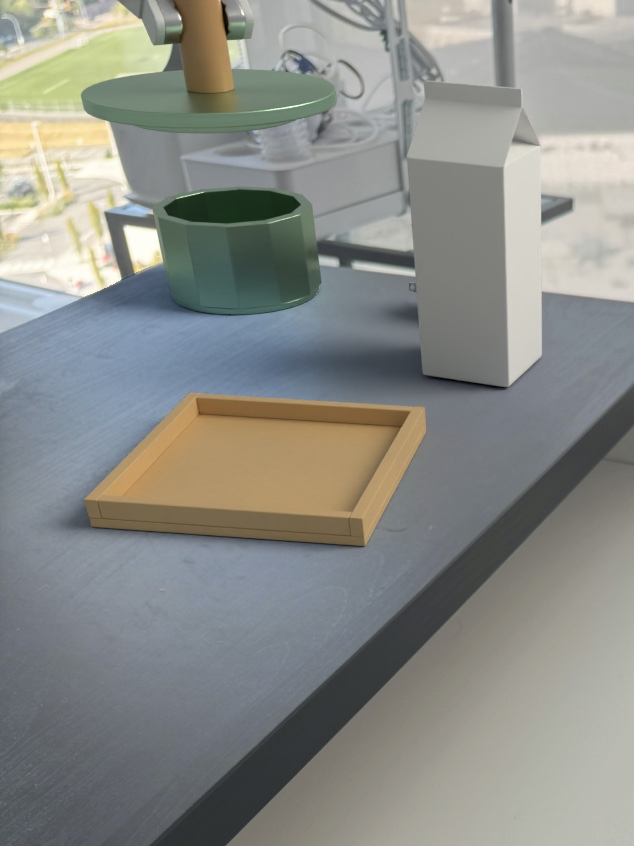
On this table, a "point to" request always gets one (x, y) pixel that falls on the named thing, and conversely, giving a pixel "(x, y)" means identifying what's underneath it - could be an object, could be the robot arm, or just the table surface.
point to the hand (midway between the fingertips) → (205, 34)
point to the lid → (208, 87)
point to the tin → (238, 249)
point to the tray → (263, 470)
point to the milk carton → (476, 233)
